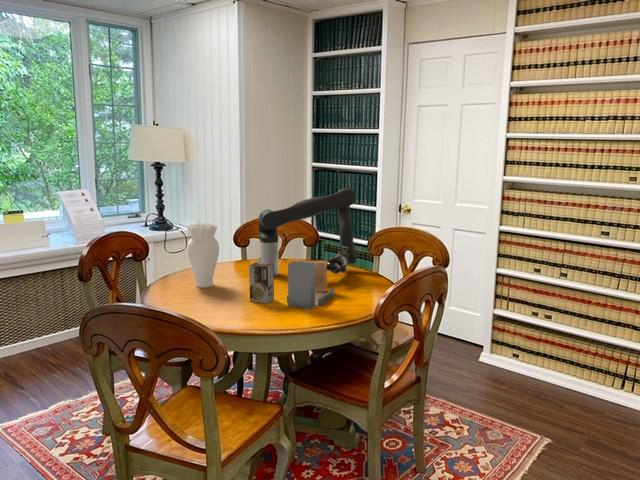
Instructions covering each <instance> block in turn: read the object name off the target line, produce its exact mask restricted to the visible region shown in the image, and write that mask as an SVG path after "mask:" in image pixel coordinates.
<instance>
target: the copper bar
mask: <svg viewBox="0 0 640 480" xmlns="http://www.w3.org/2000/svg"><path fill="white" fill-rule="evenodd" d="M315 262H316V265H315V292H319V293H327V292H328V290H327V289H328V287H327V286H328V285H327V284H328V283H327V282H328V278H327V277H328V271H327V263H328V261H327V260H316V261H315Z"/></svg>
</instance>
